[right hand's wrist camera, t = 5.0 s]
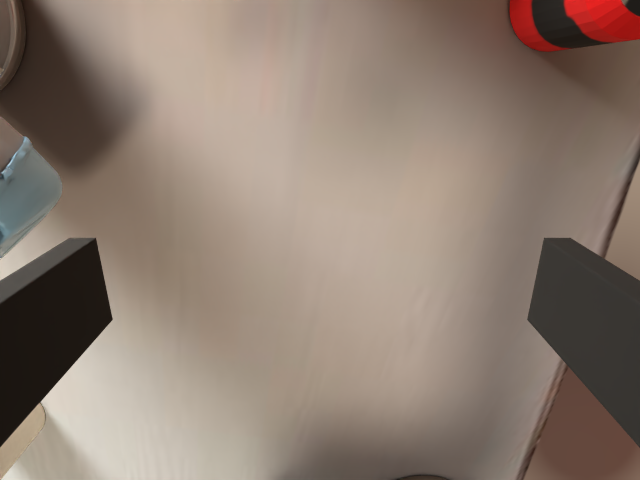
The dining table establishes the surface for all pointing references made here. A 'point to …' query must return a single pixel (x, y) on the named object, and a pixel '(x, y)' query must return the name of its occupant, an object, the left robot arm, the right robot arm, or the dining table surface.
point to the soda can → (574, 22)
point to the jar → (21, 439)
